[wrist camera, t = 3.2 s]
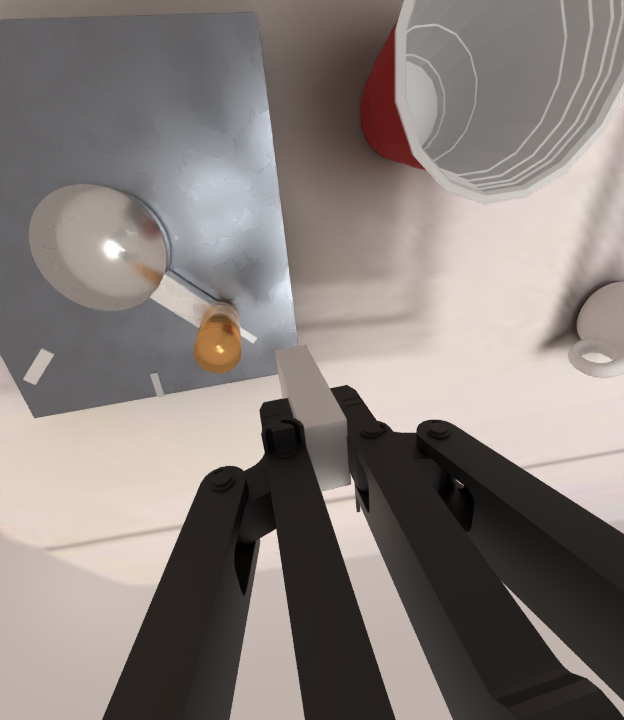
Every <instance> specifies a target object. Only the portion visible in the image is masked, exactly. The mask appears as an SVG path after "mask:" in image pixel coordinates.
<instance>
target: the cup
mask: <svg viewBox="0 0 624 720" xmlns="http://www.w3.org/2000/svg"><path fill="white" fill-rule="evenodd" d="M577 332H578V335H579V337H580V338H581V341H579V342H577V343H576V344H574V345H573V346H572V347H571V348H570V350H569V352H568V356H569V360H570V362H571V364H572V365H573V366H574V367H575V368H576V369H577V370H579V371H581V372H582V373H584V374H586V375H589V376H592V377H597V378H611V377H616V376H619V375H622V374H624V281H621V282H615V283H611V284H608V285H606V286H604V287H602V288H600V289H599V290H597V291H596V292H595V293H593V294H592V295H591V296H590V297H589V298H588V300H587V301H586V302H585V304H584V305H583V307H582V308H581V310H580V313H579V316H578V319H577ZM591 352H596V353H601V354H603V355H605V356H607V357H609V358H610V359H612V360H613V361H611V362H608V363H594V362H590V361H588V360H585V359H584V358H582V357H581V356H582V355H583V354H586V353H591Z"/></svg>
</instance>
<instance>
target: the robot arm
mask: <svg viewBox="0 0 624 720" xmlns="http://www.w3.org/2000/svg"><path fill="white" fill-rule="evenodd" d="M275 353H276V359H277V366H278V372H279V378H280V385H281V391H282V397H283V399H278V400H273V401H268V402H263V404H262V406H261V408H260V410H259V411H260V418H261V424H262V433H261V436H262V441H263V446H264V451H265V454H264V456H263V458H262V459H261V460H260V461H259V462H258V463H257V464H256V465H255V466H253V467H251V468H249V469H247V470H245V471H243V470H242V469H240V468H238V467H236V466H225V467H220V468H218V469H216V470H213V471H212V472H210V473H209V474H208V475H207V476H205V478H204V479H203V481H202V482H201V484H200V486H199V489H198V491H197V493H196V496H195V498H194V501H193V503H192V505H191V508H190V510H189V513H188V515H187V517H186V520H185V522H184V525H183V527H182V529H181V532H180V534H179V537H178V539H177V541H176V544H175V546H174V549H173V551H172V553H171V556H170V558H169V561H168V563H167V565H166V568H165V570H164V573H163V575H162V577H161V580H160V582H159V585H158V587H157V589H156V592H155V594H154V597H153V599H152V601H151V604H150V606H149V609H148V611H147V613H146V616H145V618H144V621H143V623H142V626H141V628H140V630H139V633H138V635H137V637H136V640H135V642H134V645H133V647H132V650H131V652H130V654H129V657H128V659H127V661H126V664H125V666H124V669H123V671H122V674H121V676H120V678H119V680H118V683H117V685H116V688H115V690H114V693H113V695H112V697H111V700H110V702H109V704H108V707H107V709H106V712H105V714H104V716H103V719H102V720H229V719H230V713H231V707H232V702H233V696H234V690H235V684H236V679H237V673H238V667H239V661H240V655H241V650H242V644H243V638H244V632H245V627H246V621H247V615H248V610H249V604H250V597H251V592H252V586H253V581H254V575H255V569H256V564H257V558H258V552H259V546H260V538H261V537H263V536H265V535H266V534H268V533H270V532H271V531H273V530H275V529H277V536H278V543H279V549H280V556H281V563H282V569H283V576H284V582H285V589H286V596H287V603H288V609H289V616H290V623H291V629H292V636H293V642H294V650H295V656H296V663H297V670H298V676H299V683H300V690H301V696H302V703H303V710H304V716H305V720H396V719H395V716H394V713H393V710H392V707H391V704H390V701H389V698H388V695H387V692H386V689H385V686H384V683H383V680H382V677H381V674H380V671H379V668H378V664H377V661H376V658H375V655H374V652H373V649H372V646H371V643H370V640H369V637H368V634H367V631H366V628H365V624H364V621H363V618H362V615H361V612H360V609H359V606H358V603H357V600H356V597H355V594H354V591H353V588H352V585H351V582H350V579H349V576H348V572H347V569H346V566H345V563H344V560H343V557H342V554H341V551H340V548H339V545H338V542H337V539H336V536H335V532H334V529H333V526H332V523H331V520H330V517H329V514H328V511H327V508H326V505H325V502H324V499H323V496H322V493H321V491H326V490H330V489H334V488H338V487H342V486H346V485H350V484H351V476H352V478H353V480H354V482H355V497H356V509H357V512H360V506H361V508H362V511H363V513H364V515H365V518H366V520H367V522H368V525H369V527H370V529H371V532H372V534H373V536H374V538H375V541H376V543H377V545H378V548H379V550H380V552H381V555H382V557H383V559H384V561H385V564H386V566H387V568H388V571H389V573H390V575H391V577H392V580H393V582H394V585H395V587H396V589H397V591H398V594H399V596H400V598H401V601H402V603H403V605H404V607H405V610H406V612H407V614H408V617H409V619H410V621H411V624H412V626H413V628H414V631H415V633H416V635H417V638H418V640H419V642H420V644H421V647H422V649H423V651H424V654H425V656H426V658H427V661H428V663H429V665H430V668H431V670H432V672H433V674H434V677H435V679H436V681H437V684H438V686H439V688H440V691H441V693H442V695H443V697H444V700H445V702H446V704H447V706H448V709H449V711H450V714H451V716H452V718H453V720H624V717H623V716H622V714H621V713H620V712H619V711H618V709H617V708H616V707H615V706H614V704H613V703H612V702H611V701H610V700H609V699H608V698H607V696H606V695H605V694H604V693H603V692H602V691H601V690H600V689H599V688H598V687H597V686H596V685H594V684H593V683H592V682H591V681H589V680H588V679H587V678H584V677H581V676H579V675H576V674H573V673H571V672H569V671H568V670H567V669H566V668H565V667H564V666H562V664H561V663H560V662H559V660H558V659H557V658H556V657H555V655H554V654H553V652H552V651H551V650H550V648H549V647H548V646H547V645H546V643H545V642H544V640H543V639H542V637H541V636H540V634H539V633H538V632H537V630H536V629H535V628H534V626H533V625H532V623H531V622H530V621H529V619H528V618H527V617H526V615H525V614H524V612H523V611H522V610H521V608H520V607H519V605H518V604H517V603H516V601H515V600H514V599H513V597H512V596H511V594H510V593H509V591H508V590H507V589H506V587H505V586H504V585H503V583H504V584H505V585H506V586H507V587H508V588H509V589H510V590H511V591H512V592H513V593H514V594H515V595H516V596H517V597H518V598H519V599H520V600H521V601H522V602H523V603H524V604H525V605H526V606H527V607H528V608H529V609H530V610H531V611H532V612H533V613H534V614H535V615H536V616H537V617H539V619H541V621H543V622H544V623H545V624H546V625H547V626H548V627H549V628H550V629H551V630H552V631H553V632H554V633H555V634H556V635H557V636H558V637H559V638H560V639H561V640H562V641H563V642H564V643H565V644H566V645H567V646H568V647H569V648H570V649H571V650H572V651H573V652H574V653H575V654H576V655H577V656H578V657H579V658H580V659H581V660H582V661H584V663H586V665H587V666H588V667H589V668H590V669H592V671H594V673H596V674H597V675H598V676H599V677H600V678H601V679H602V680H603V681H604V682H605V683H606V684H607V685H608V686H609V687H610V688H611V689H612V690H613V691H614V692H615V693H616V694H617V695H618V696H619V697H620V698H621V699H622V700H623V701H624V534H623V533H621V532H620V531H618V530H617V529H615V528H614V527H612V526H611V525H609V524H607V523H606V522H604V521H603V520H601V519H600V518H598V517H597V516H595V515H593V514H592V513H590V512H589V511H587V510H586V509H584V508H583V507H581V506H579V505H578V504H576V503H575V502H573V501H572V500H570V499H568V498H567V497H565V496H564V495H562V494H561V493H559V492H558V491H556V490H554V489H553V488H551V487H550V486H548V485H547V484H545V483H544V482H542V481H540V480H539V479H537V478H536V477H534V476H533V475H531V474H530V473H528V472H526V471H525V470H523V469H522V468H520V467H519V466H517V465H516V464H514V463H512V462H511V461H509V460H508V459H506V458H505V457H503V456H502V455H500V454H498V453H497V452H495V451H494V450H492V449H491V448H489V447H488V446H486V445H484V444H483V443H481V442H480V441H478V440H477V439H475V438H474V437H472V436H470V435H469V434H467V433H466V432H464V431H463V430H461V429H460V428H458V427H456V426H455V425H453V424H451V423H449V422H447V421H442V420H427V421H424V422H422V423H421V424H419V425H418V427H417V432H416V433H400V432H393V431H392V429H391V428H390V427H389V426H388V425H387V424H385V423H383V422H380V421H377V420H376V419H375V418H374V416H373V415H372V413H371V412H370V410H369V409H368V407H367V406H366V404H365V403H364V402H363V400H362V399H361V398H360V396H359V394H358V393H357V391H356V390H355V389H353V388H351V387H349V386H348V385H345V386H340V387H335V388H329V386H328V385H327V383H326V381H325V379H324V377H323V375H322V374H321V372H320V370H319V368H318V366H317V365H316V363H315V361H314V359H313V357H312V356H311V354H310V352H309V350H308V348H307V346H306V345H303V346H297V347H292V348H286V349H280V350H275ZM350 473H351V476H350ZM456 480H458V481H459V482H460V483H461V484H463V485H464V486H463V485H461V484H460V483H459V482H457V481H456ZM501 581H502V582H503V583H502V582H501Z"/></svg>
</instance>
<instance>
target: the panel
mask: <svg viewBox="0 0 624 720" xmlns="http://www.w3.org/2000/svg"><path fill="white" fill-rule="evenodd" d="M76 184H90V185H99V186H108V187H112V188H116V189H119V190H122V191H124V192H126V193H128V194H130V195H132V196H134V197H136V198H137V199H139V200H140V201H141V202H143V203H144V204H145V205H146V206H147V207H148V208H149V209H150V210H151V211H152V212H153V213H154V214H155V215H156V217H157V218H158V219H159V221H160V222H161V224H162V226H163V228H164V230H165V232H166V234H167V237H168V240H169V245H170V253H171V258H170V266H169V270H170V271H172V272H173V273H174V274H176V275H177V276H179V277H180V278H182V279H183V280H185V281H186V282H188V283H189V284H191V285H192V286H194V287H195V288H197V289H198V290H200V291H201V292H203V293H204V294H206V295H207V296H209V297H210V298H212V299H213V300H215V301H216V302H226V303H229V304H231V305H232V306H233V307H234V308H235V309H236V310H237V312H238V314H239V318H240V335H241V358H240V361H239V363H238V364H237V365H236V367H234V368H233V369H232V370H230V371H228V372H225V373H211V372H208V371H206V370H204V369H203V368H201V367H200V366H199V365H198V363H197V362H196V360H195V357H194V346H195V342H196V338H197V334H198V331H199V328H198V327H197V326H195V325H193V324H192V323H190V322H189V321H187V320H185V319H184V318H182V317H180V316H179V315H177V314H176V313H174V312H172V311H171V310H169V309H168V308H166V307H164V306H163V305H161V304H159V303H158V302H156V301H155V300H153V299H151V298H150V297H149V298H148V299H147V300H145V301H144V302H142V303H141V304H139V305H137V306H135V307H132V308H129V309H124V310H118V311H103V310H96V309H92V308H88V307H85V306H83V305H80V304H78V303H76V302H74V301H72V300H70V299H68V298H67V297H65V296H64V295H62V294H61V293H60V292H59V291H57V290H56V289H55V288H54V287H53V286H52V285H51V284H50V283H49V282H48V281H47V280H46V279H45V277H44V276H43V275H42V273H41V272H40V270H39V269H38V267H37V265H36V263H35V261H34V258H33V255H32V253H31V249H30V244H29V225H30V221H31V218H32V215H33V213H34V211H35V209H36V208H37V206H38V205H39V203H40V202H41V201H42V200H43V199H44V198H45V197H46V196H48V195H49V194H50V193H52V192H54V191H56V190H58V189H60V188H63V187H66V186H70V185H76ZM297 346H298V340H297V332H296V324H295V316H294V308H293V300H292V292H291V284H290V276H289V268H288V260H287V252H286V243H285V235H284V227H283V219H282V211H281V203H280V195H279V187H278V179H277V171H276V163H275V155H274V147H273V138H272V130H271V122H270V114H269V106H268V98H267V90H266V82H265V74H264V66H263V58H262V50H261V42H260V34H259V25H258V17H257V12H240V13H207V14H174V15H142V16H109V17H76V18H44V19H11V20H0V355H1V356H2V358H3V360H4V362H5V364H6V366H7V368H8V370H9V371H10V373H11V375H12V377H13V379H14V381H15V383H16V385H17V386H18V388H19V390H20V392H21V394H22V396H23V398H24V400H25V401H26V403H27V405H28V407H29V409H30V411H31V413H32V415H33V416H34V418H38V417H44V416H50V415H55V414H61V413H66V412H72V411H77V410H83V409H88V408H94V407H99V406H105V405H110V404H116V403H121V402H127V401H132V400H138V399H143V398H149V397H155V396H157V397H161V396H165V395H166V394H171V393H177V392H182V391H188V390H193V389H199V388H204V387H210V386H215V385H221V384H226V383H232V382H237V381H243V380H248V379H254V378H260V377H265V376H271V375H276V374H279V372H278V366H277V359H276V353H275V350H280V349H286V348H292V347H297Z"/></svg>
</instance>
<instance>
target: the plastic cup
mask: <svg viewBox="0 0 624 720" xmlns="http://www.w3.org/2000/svg"><path fill="white" fill-rule="evenodd" d="M623 96H624V0H404V1H403V4H402V8H401V11H400V15H399V18H398V20H397V22H396V24H395V26H394V28H393V30H392V31H391V33H390V35H389V37H388V39H387V41H386V43H385V45H384V47H383V48H382V50H381V52H380V54H379V56H378V58H377V60H376V62H375V65H374V69H373V71H372V73H371V75H370V76H369V78H368V80H367V82H366V85H365V89H364V93H363V97H362V101H361V107H360V108H361V124H362V129H363V131H364V134H365V136H366V138H367V141H368V143H369V144H370V145H371V146H372V147H373V148H374V149H375V150H376V152H377V153H378V154H379V155H381V156H382V157H384V158H387V159H390V160H392V161H395V162H399V163H404V164H406V165H409V166H412V167H415V168H419V169H423V170H427V172H428V173H429V174H430V175H431V176H432V177H433V178H434V179H435V180H436V182H437V183H438V184H439V185H440V186H441V187H442V188H443V189H444V190H445V191H447V192H450V193H452V194H455V195H458V196H461V197H464V198H467V199H470V200H473V201H476V202H479V203H481V204H488V203H494V202H500V201H507V200H513V199H519V198H525V197H527V196H528V195H530V194H532V193H533V192H535V191H537V190H538V189H540V188H542V187H543V186H545V185H547V184H548V183H550V182H551V181H553V180H555V179H556V178H558V177H560V176H561V175H563V174H565V173H566V172H568V170H569V169H570V168H571V167H572V166H573V165H574V164H575V163H576V162H577V160H578V159H579V158H580V157H581V156H582V155H583V154H584V153H585V152H586V150H587V149H588V148H589V147H590V146H591V145H592V144H593V143H594V142H595V140H596V139H597V138H598V137H599V136H600V135H601V134H602V133H603V132H604V130H605V129H606V128H607V126H608V124H609V122H610V120H611V118H612V117H613V115H614V113H615V111H616V109H617V107H618V105H619V104H620V102H621V100H622V98H623Z"/></svg>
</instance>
